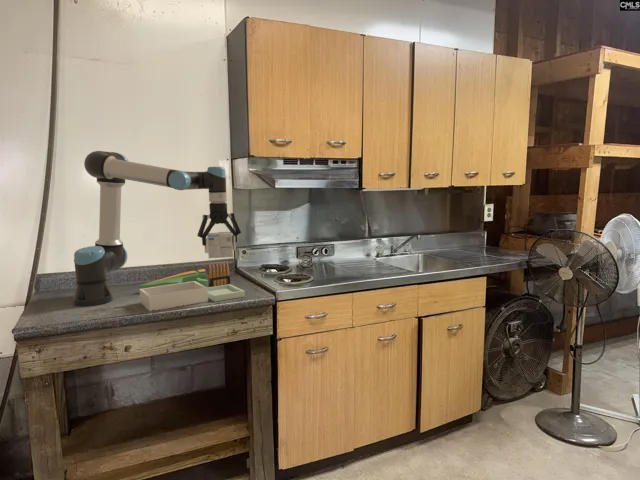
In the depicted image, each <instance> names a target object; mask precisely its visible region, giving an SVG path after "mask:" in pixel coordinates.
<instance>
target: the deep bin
mask: <svg viewBox="0 0 640 480" xmlns="http://www.w3.org/2000/svg"><path fill="white" fill-rule="evenodd" d="M138 290H139V300H140V301H139V303H140V304H141V305H142V306H143V305H144V306H145V307H144V306H143V307H144V308H146V309H147V310H148V311H149V312H153V311H152V310H155V311H159V309H160V310H166V309H170V308H171V309H172V308H177V306H178V307H182V306H183V305H184V306H188V305H194V304H200V303H201V304H202V303H206V302H209V298H208V289H207V286H206V285H205V286H203V285H201V284H200V283H198V282H196V281H192V282H189V281H188V282H185V283H178V284H171V285H164V286H157V287H150V288H141V289H139V288H138Z"/></svg>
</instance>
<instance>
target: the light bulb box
mask: <svg viewBox="0 0 640 480" xmlns="http://www.w3.org/2000/svg"><path fill="white" fill-rule="evenodd" d="M232 235H233V234H232V233H231V231H222V232H221V231H220V232H219V231H218V232H209V234H208V235H207V237H206V238H208V249H209V253H207V254H208V259H221V258H222V259H223V258H234V252H233V251H234V250H233V245H232Z"/></svg>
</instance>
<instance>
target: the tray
mask: <svg viewBox="0 0 640 480" xmlns="http://www.w3.org/2000/svg"><path fill="white" fill-rule="evenodd" d="M206 287H207V286H206ZM207 289H208V300H211V301H213V302H221V301H227V300H231V299H233V300H234V299H238V298H244V297H246V291H245V290H244V289H241V288H239V287H237V286H234V285H233V284H231V285H230V284H227V285H220V286H214V287H209V286H208V287H207Z"/></svg>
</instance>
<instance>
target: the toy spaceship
mask: <svg viewBox="0 0 640 480" xmlns="http://www.w3.org/2000/svg"><path fill="white" fill-rule="evenodd" d="M206 278H207V271H206V269H205V268H202V269H197V270H196V271H195V270H191V271H186V272H185V271H184V272H181V273H178V274H174V275H171V276H167V277H163V278H160V279H157V280H153V281H150V282H147V283H144V284H139V285H138V290H139V289H143V288H150V287H157V286H164V285H171V284H178V283H185V282H192V281H196V282H198V283H200V284H201V285H203V286H205V287H206V286H209V281H208V279H206Z"/></svg>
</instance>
